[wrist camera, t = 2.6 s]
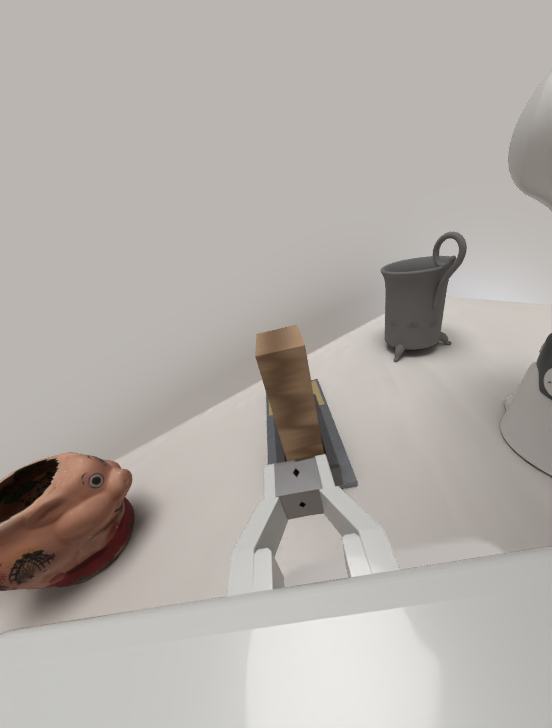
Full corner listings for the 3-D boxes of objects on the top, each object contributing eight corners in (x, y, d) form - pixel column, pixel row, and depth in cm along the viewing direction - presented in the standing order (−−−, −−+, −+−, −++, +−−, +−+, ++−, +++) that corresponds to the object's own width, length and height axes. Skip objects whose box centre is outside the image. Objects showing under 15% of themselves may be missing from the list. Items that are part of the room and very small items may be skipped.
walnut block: (317, 438, 37) (296, 324, 28) (327, 471, 32) (304, 345, 22) (288, 444, 38) (256, 334, 28) (292, 478, 32) (255, 356, 23)
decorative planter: (-38, 676, 23) (-209, 640, 16) (17, 553, 33) (-75, 499, 26) (163, 546, 30) (99, 482, 23) (158, 476, 39) (113, 417, 33)
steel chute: (317, 382, 53) (315, 367, 51) (357, 486, 31) (356, 467, 29) (267, 393, 53) (263, 379, 51) (270, 502, 31) (263, 485, 29)
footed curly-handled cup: (364, 342, 64) (360, 244, 52) (411, 328, 65) (419, 228, 53) (414, 375, 47) (426, 242, 35) (476, 354, 49) (508, 219, 37)
